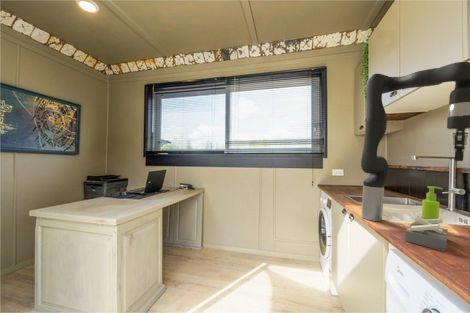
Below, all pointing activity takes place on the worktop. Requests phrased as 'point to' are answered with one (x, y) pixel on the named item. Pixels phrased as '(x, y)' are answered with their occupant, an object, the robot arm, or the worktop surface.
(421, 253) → the worktop surface
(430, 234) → the switch box
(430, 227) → the block
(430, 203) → the soap dispenser
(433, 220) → the block
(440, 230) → the block
